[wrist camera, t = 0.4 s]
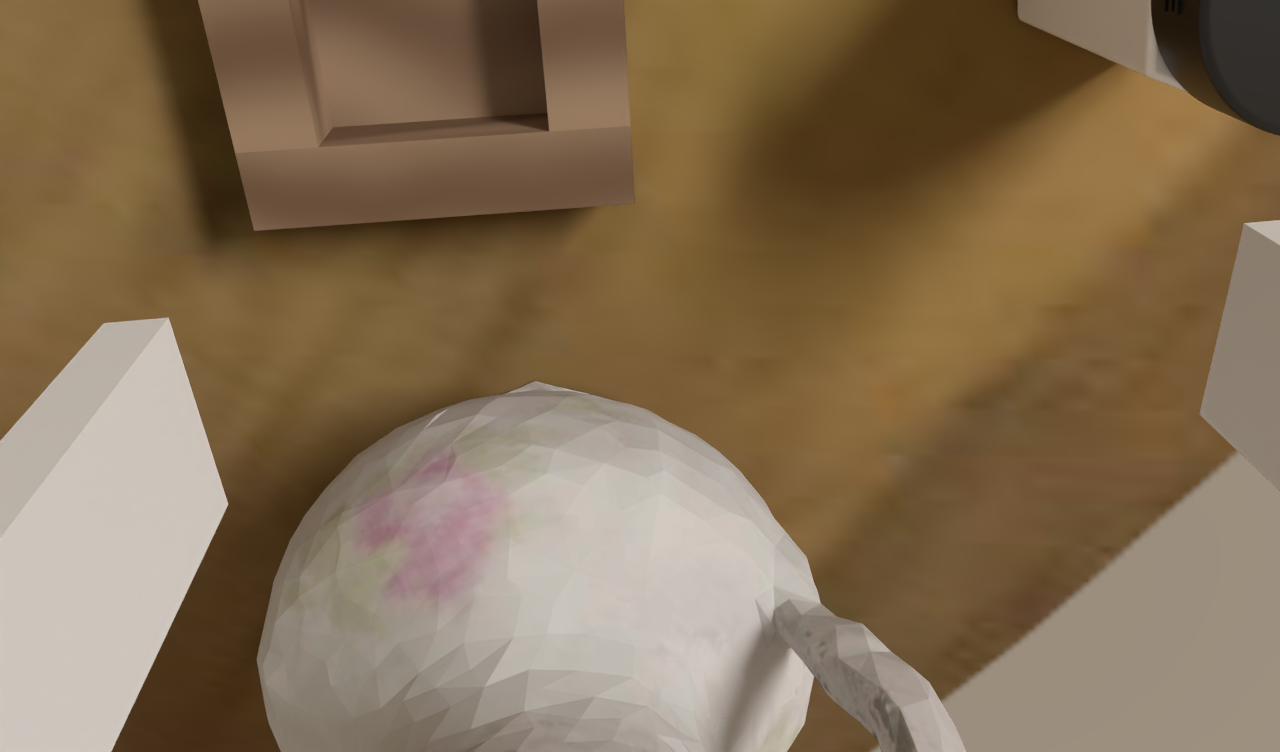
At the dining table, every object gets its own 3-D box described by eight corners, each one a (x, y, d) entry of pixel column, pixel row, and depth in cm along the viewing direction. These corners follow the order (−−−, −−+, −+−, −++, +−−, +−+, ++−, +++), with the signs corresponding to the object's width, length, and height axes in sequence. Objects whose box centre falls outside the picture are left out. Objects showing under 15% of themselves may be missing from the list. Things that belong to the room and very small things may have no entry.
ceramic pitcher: (622, 168, 39) (615, 545, 17) (913, 499, 46) (1192, 1093, 23) (248, 490, 45) (-131, 1091, 23) (553, 743, 51) (495, 1408, 29)
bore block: (181, -206, 32) (147, -208, 29) (606, -230, 32) (610, -234, 29) (275, 202, 38) (254, 230, 35) (629, 177, 38) (635, 203, 36)
